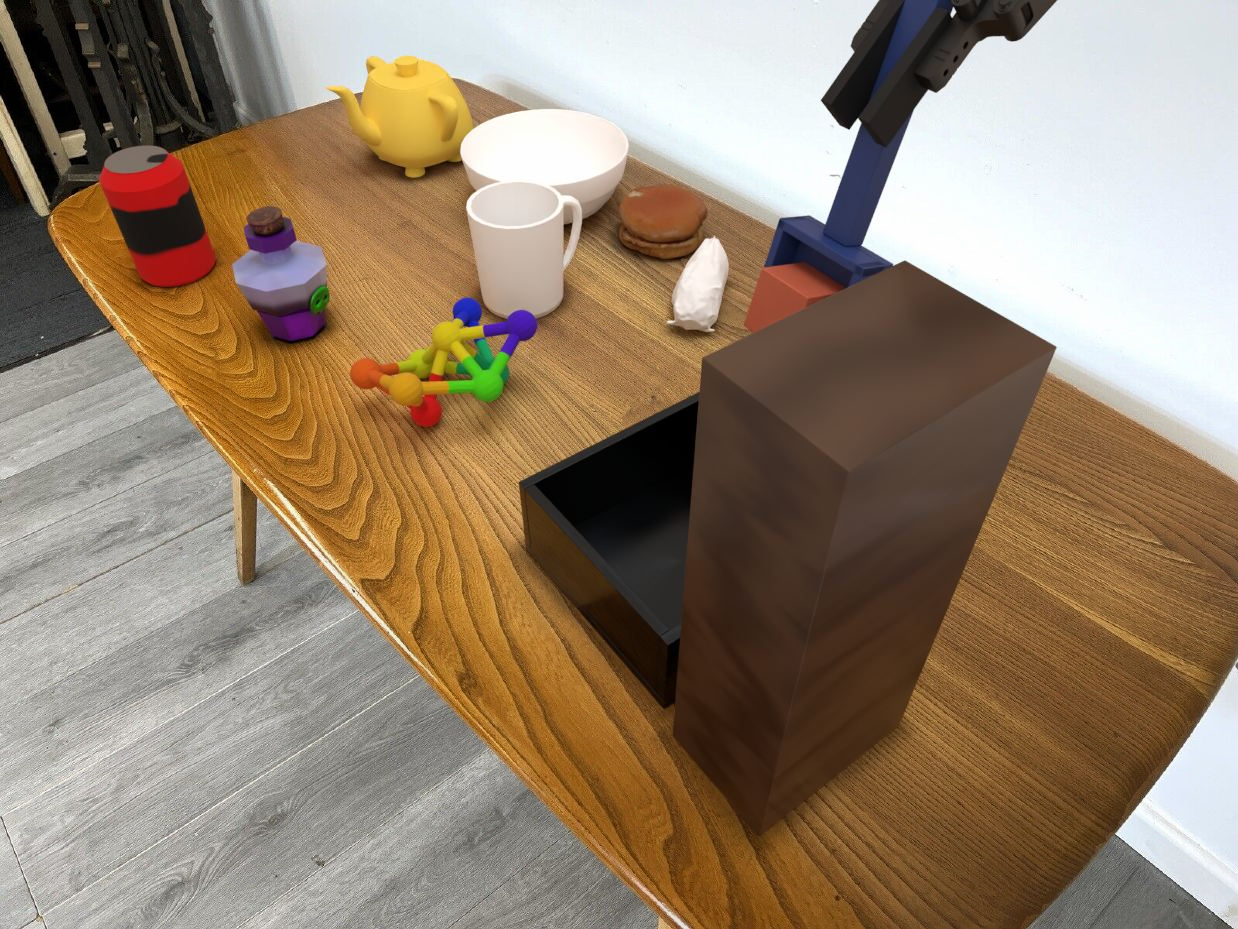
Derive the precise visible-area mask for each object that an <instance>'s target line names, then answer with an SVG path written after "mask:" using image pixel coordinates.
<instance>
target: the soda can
mask: <svg viewBox="0 0 1238 929" xmlns="http://www.w3.org/2000/svg"><path fill="white" fill-rule="evenodd" d="M98 181H99V184H100V187H101V190H102V191H103V193H104V195H105V199H106V201H107V203H108V206H109V208H110V210H111V212H112V215H113V217H114V219H115V222H116V224H117V226H118V229H119V232H120V233H121V236H122V238H123V240H124V243H125V245H126V247H127V249H128V252H129V255H130V256H131V258H132V261H133V264H134V266H135V268H136V271H137V273H138V275H139V278H141V279H142V280H143V281H145V282H147V283H148V284H150V285H152V286H155V287H161V288H172V287H180V286H185V285H189V284H192V283H194V282H197V281H199V280H200V279H203V278H204V277H206V275H208V274H209V273H210V272H211V271H212V269H213V268H214V266H215V263H216V260H217V258H216V254H215V251H214V248H213V245H212V243H211V240H210V236H209V233H208V231H207V228H206V226H205V225H206V224H205V223H204V220H203V217H202V214H201V211H200V209H199V206H198V203H197V201H196V197H195V195H194V192H193V189H192V186H191V183H190V181H189V178H188V175H187V172H186V169H185V167H184V164H183V162H182V160H180V159H178V158H177V157H176V156H174V155H173V154H171V153H169V152H168V151H167V150H166V149H165V148H163V147H160V146H157V145H137V146H136V145H135V146H131V147H126V148H124V149H123V148H122V149H121V150H118V151H116V152H114V153H112V154H110V155H109V156H108V157H107V158H106V159H105V161H104V162H103V168H102V170H101V173H100V175H99V178H98Z"/></svg>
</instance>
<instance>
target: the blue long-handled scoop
mask: <svg viewBox="0 0 1238 929" xmlns="http://www.w3.org/2000/svg"><path fill="white" fill-rule="evenodd" d="M937 7H939V8H942V9H945V10H948V11H949V13H950V15H951V14H952V12H953V9H954V7H953V5H952V3H951V0H905V1H904V4H903V7H902V10H901V12H900V15H899V18H898V21H897V24H896V26H895V29H894V32H893V35H892V38H891V41H890V43H889V46H888V49H887V52H886V55H885V57H884V60H883V63H882V66H881V69H880V72H879V74H878V77H877V80H876V83H875V86H874V88H873V91H872V94H871V97H870V100H871V99H872V97H873V96H874V94H875V93H876V92H877V90H878V89H879V87H880V86H881V85H882V83H883V82H884V80H885V79H886V78H887V76H888V75H889V73H890V72H891V71H892V69H893V68H894V66H895V65H896V64H897V62H898V61H899V59H900V58H901V56H902V55H903V54H904V52H905V51H906V49H907V48H908V47H909V45H910V44H911V42H912V41H913V40H914V38H915V37H916V35H917V34H918V33H919V31H920V30H921V28H922V27H923V26H924V24H925V23H926V21H927V20H928V18H929V17H930V16H931V14H932V13H933V11H934V10H935V9H936V8H937ZM951 16H952V15H951ZM870 100H869V102H870ZM914 111H915V109H914V110H913V112H912V113H911V114H910V116H909V117H908V119H907V120H906V121H905V123H904V124H903V125H902V127H901V128H900V130H899V131H898V132H897V134H896V135H895V137H894V138H893V139H892V141H891V142H890V143H889V145H888V146H887V148H885V147H883V146H881V145H879V144H877V143H876V142H875V141H874V140H873V138H872V137H871V136H870V134H869V133H868V131H867V130H866V129H865V127H864V126H863V124H862V123H861V122H860V126H859V128H858V131H857V134H856V137H855V140H854V142H853V145H852V148H851V150H850V154H849V157H848V159H847V162H846V164H845V168H844V171H843V173H842V176H841V179H840V181H839V184H838V187H837V190H836V193H835V196H834V199H833V202H832V204H831V208H830V210H829V213H828V216H827V219H826V221H825V223H823V222H822V221H820V220H818V219H816V218H815V217H813V216H812V215H809V214H808V215H796V216H788V217H780V218H778V222H777V225H776V229H775V231H774V234H773V237H772V239H771V240H772V241H771V244H770V247H769V250H768V253H767V257H766V259H765V263H764V265H763V268H765V267H772V266H779V265H786V264H794V263H801V262H806V263H808V264H809V265H811V266H812V267H814V268H816V269H817V270H819V271H820V272H822V273H824V274H825V275H827V276H828V277H830V278H832V279H833V280H835V281H837V282H838V283H840V284H841V285H843V286H845V287H846V288H848V287H850V286H852V285H854V284H856V283H858V282H861V281H863V280H865V279H867V278H869V277H871V276H873V275H875V274H877V273H879V272H881V271H883V270H885V269H888V268H890V267H892V266H894V263H893V262H891V261H889V260H888V259H886V258H884V257H882V256H881V255H878V254H877V253H875V252H874V251H872V250H870V249H869V248H867V247H865V246H863V244H864V241H865V239H866V236H867V233H868V230H869V228H870V226H871V223H872V220H873V218H874V216H875V212H876V210H877V208H878V205H879V202H880V200H881V197H882V194H883V192H884V190H885V187H886V184H887V181H888V179H889V176H890V173H891V171H892V168H893V165H894V163H895V160H896V158H897V155H898V153H899V151H900V147H901V145H902V142H903V140H904V137H905V135H906V132H907V130H908V127H909V124H910V121H911V119H912V116H913V114H914Z"/></svg>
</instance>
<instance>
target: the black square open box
mask: <svg viewBox="0 0 1238 929" xmlns="http://www.w3.org/2000/svg"><path fill="white" fill-rule="evenodd" d="M699 392H700V391H698V392H696V393H694V394H692V395H689V396H688V397H686V398H683V399H681V400H679V401H678V402H675V403H674V404H672V405H670V406H667V407H666V408H664V409H662V410H660V411H658V412H656V413H654V414H651V415H650V416H648V417H646V418H644V419H642V420H640V421H638V422H636V423H634V424H631V425H629V426H628V427H626V428H624V429H622V430H620V431H618V432H616V433H613V434H612V435H610V436H608V437H606V438H604V439H602V440H600V441H598V442H596V443H594V444H592V445H589V446H588V447H586V448H584V449H581V450H579V451H578V452H576V453H574V454H572V455H569V456H568V457H566V458H564V459H562V460H560V461H557V462H555V463H554V464H551V465H549V466H548V467H545V468H544V469H541V470H540V471H538V472H535V473H534V474H531V475H530V476H527V477H525V478H523V479H522V480H520V481H518V489H519V499H520V508H521V517H522V525H523V533H524V543H525V550H526V552H527V553H528V555H530V556H531V558H532V559H533V560H534V561H535V562H536V563H537V565H538V566H539V567H540V568H541V569H542V570H543V571H544V572H545V574H546V575H547V576H548V578H550V580H551V581H552V582H553V583H554V584H555V585H556V586H557V588H558V589H560V591H561V592H562V593H563V595H564V596H565V597H566V598H567V599H568V601H569V602H570V603H571V604H572V605H573V606H574V608H576V610H577V611H578V612H579V613H580V614H581V616H582V617H583V618H584V619H585V620H586V621H587V623H588V624H589V625H590V626H591V627H592V628H593V629H594V631H595V632H596V633H597V634H598V635H599V636H600V638H602V640H603V641H604V642H605V644H606V645H608V647H609V648H610V649H611V651H612V652H614V654H615V655H616V656H617V657H618V659H619V660H620V661H621V662H622V663H623V664H624V666H626V668H627V669H628V670H629V671H630V672H631V674H632V675H633V676H634V677H635V678H636V679H637V680H638V681H639V683H640V684H641V685H642V686H643V688H645V690H646V691H647V692H648V693H649V694H650V696H651V697H652V698H653V699H654V700H655V701H656V703H658V704H659V706H660V707H661V709H662V710H664V711H665V710H666V709H668V708H669V707H670V706H672V705H673V704H674V705H675V697H676V685H677V672H678V659H679V646H680V634H681V621H682V608H683V596H684V583H685V570H686V557H687V545H688V532H689V519H690V506H691V494H692V481H693V468H694V455H695V443H696V430H697V417H698V404H699Z"/></svg>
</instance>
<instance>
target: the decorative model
mask: <svg viewBox="0 0 1238 929" xmlns="http://www.w3.org/2000/svg"><path fill="white" fill-rule="evenodd" d="M482 316H483V310H482V306H481V304H480V303H479V301H477V300H476V299H474V298H472V297H462V298H461V299H458V300H457V301H456V302H455V303H454V305H453V306H452V317H453V319H452V320H451V321H450V320H446V321H442V322H440V323H438V324H437V325H436V326H435V327H434V328H433V329H432V331H431V341H432V342H431V344H430V345H429V346H428V347H427V349H425V348H420V349H416V350H413V351H412V352H411V353H410V354H409V356H408V358H407V360H402V361H395V362H389V363H384V364H379V362H377V361H376V360H375V359H373V358H371V357H363V358H359V359H358V360H356V361H355V362H354V363H353V364H352V365H351V367H350V371H349V377H350V380H351V381H352V383H353V384H354V385H355V386H356V387H357V388H359V389H361V390H371V389H374V388H377V389H379V390H380V391H381V392H383V393H385V394H387V395H388V396H390V398H391V399H392V401H393V402H394V403H396V404H398V405H400V406H404V407H407V408H409V409H410V417H411V419H412V421H413V422H414V423H415V424H416V425H418V426H419V427H424V428H429V427H433V426H435V425H436V424H438V422H439V421H440V420H441V417H442V416H443V415H442V414H443V409H442V408H443V407H442V405H441V403H440V402H439V400H438V399H437V398H438V395H451V394H453V395H454V394H473V396H474V397H475V398H476V399H477V400H479V401H481V402H483V403H484V402H485V403H489V402H494V401H495V400H497V399H499V398H500V396H501V395H502V393H503V390H504V385H505V384H506V383H507V382H508V381H509V378H510V369H509V368H510V367H509V366H508V363H509V362H510V360H511V358H512V357H513V354H514V352H515V350H516V349H517V347H518V346H519V343H520V342H527V341H529V340H531V339H532V338H533V337H534V336H535V334H536V333H537V330H538V321H537V319H536V318H535V317H534V315H533V314H532V313H530V312H528V311H526V310H518V311H515V312H513V313H511V314H510V315H509V317H508V318H507V319H506V321H502V322H495V323H489V324H482V325H480V324H479V322H480V321H481V319H482ZM503 335H508V336H507V338H506V339H505V341H504V342H503V344H502V346H501V348H500V350H499V352H498V353H497V355H496V356H495V357H494V355H493V354H494V353H493V352H492V350H491V348H490V346H489V344H488V341H487V339H486V338H490V337H498V336H503ZM471 340H473V342H474V344H475V346H476V349H477V350H475V349H474V348H473V347H472V346H470V345H469V344H467V343H466V342H465V341H471ZM450 353H452V354H453V355H454V356H455V358H456V359H457V361H450V360H448V359H449V356H450ZM445 373H446V374H456V375H463V376H471V378H472V379H468V380H467V379H465V380H443V378H444V374H445ZM421 379H428V381H422V380H421Z"/></svg>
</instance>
